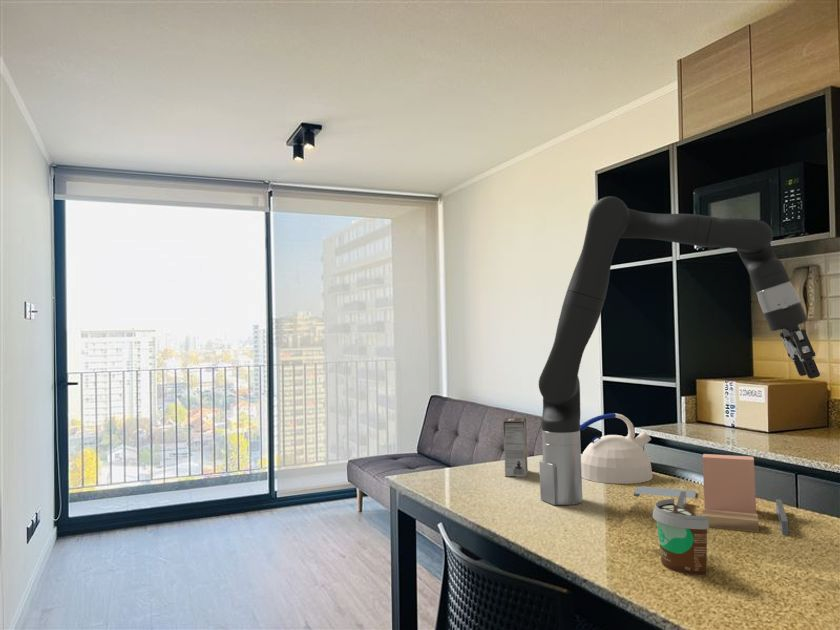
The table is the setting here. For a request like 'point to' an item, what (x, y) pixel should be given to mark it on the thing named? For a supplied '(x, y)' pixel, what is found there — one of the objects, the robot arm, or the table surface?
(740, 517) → the offcut top
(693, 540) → the food container
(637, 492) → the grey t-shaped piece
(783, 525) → the rack
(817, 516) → the table surface
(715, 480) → the tall sheet
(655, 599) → the table surface
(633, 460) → the kettle
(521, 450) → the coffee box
